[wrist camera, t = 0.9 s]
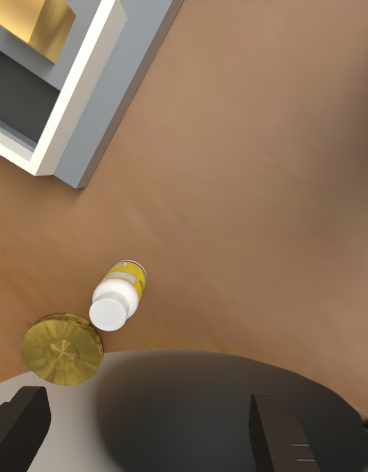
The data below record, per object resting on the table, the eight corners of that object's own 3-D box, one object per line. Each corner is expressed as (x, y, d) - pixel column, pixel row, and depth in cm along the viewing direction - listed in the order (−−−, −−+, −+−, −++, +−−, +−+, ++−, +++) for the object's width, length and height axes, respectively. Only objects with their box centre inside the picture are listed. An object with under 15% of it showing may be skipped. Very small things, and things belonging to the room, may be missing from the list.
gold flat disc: (86, 303, 37) (80, 311, 35) (116, 364, 40) (112, 375, 38) (17, 322, 39) (7, 331, 36) (51, 381, 42) (43, 392, 40)
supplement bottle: (139, 298, 36) (121, 344, 27) (105, 284, 36) (75, 326, 27) (153, 267, 35) (139, 305, 26) (117, 252, 35) (90, 285, 25)
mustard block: (30, -18, 24) (-6, -59, 19) (76, 15, 24) (51, -17, 20) (11, 33, 25) (-27, 6, 21) (55, 64, 26) (27, 43, 21)
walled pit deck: (20, -165, 23) (-43, -288, 17) (196, -24, 26) (198, -85, 19) (-62, 94, 29) (-130, 75, 23) (86, 186, 32) (60, 191, 26)
